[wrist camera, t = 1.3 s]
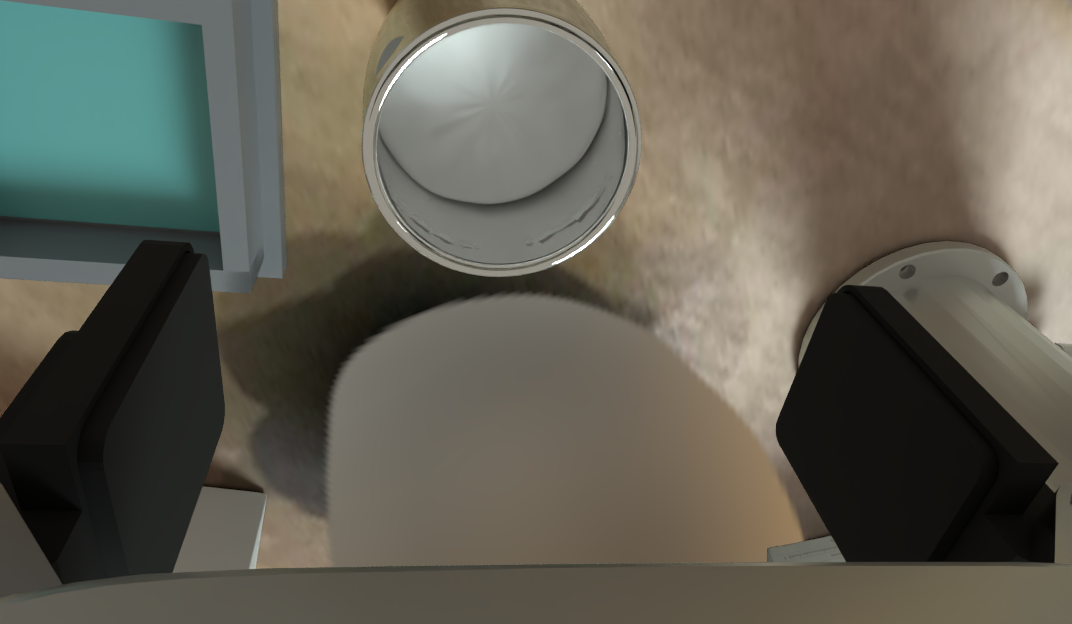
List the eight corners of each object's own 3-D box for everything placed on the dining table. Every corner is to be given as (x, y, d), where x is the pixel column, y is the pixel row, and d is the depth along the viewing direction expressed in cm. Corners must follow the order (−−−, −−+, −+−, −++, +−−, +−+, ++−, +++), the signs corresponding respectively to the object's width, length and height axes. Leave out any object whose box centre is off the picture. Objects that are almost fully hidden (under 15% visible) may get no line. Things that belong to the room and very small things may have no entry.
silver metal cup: (351, -36, 28) (291, 74, 16) (522, -110, 27) (601, -58, 15) (429, 129, 32) (431, 322, 19) (580, 67, 31) (682, 226, 19)
